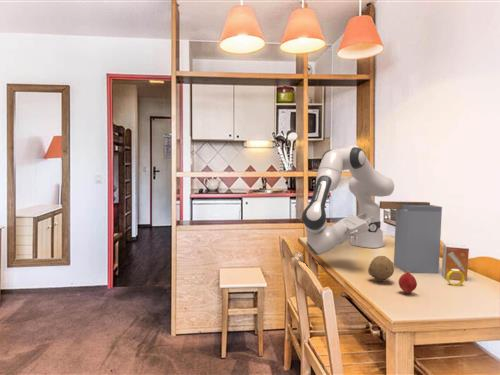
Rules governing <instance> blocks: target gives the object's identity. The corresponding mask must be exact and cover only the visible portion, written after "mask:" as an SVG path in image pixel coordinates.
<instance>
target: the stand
mask: <svg viewBox="0 0 500 375" xmlns="http://www.w3.org/2000/svg"><path fill="white" fill-rule="evenodd" d="M395 210H396V211H395V228H394V252H393V267H396V268H397V269H399V270H400V271H402V272H404V274H405V273H407V271H409V272H410V274H439V273H440V254H441V252H440V251H441V236H442V235H441V234H442V214H443V212H442V211H443V206H438V205H434V204H433V205H432V204H430V205H402V209H395Z"/></svg>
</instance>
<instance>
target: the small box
mask: <svg viewBox="0 0 500 375" xmlns="http://www.w3.org/2000/svg"><path fill="white" fill-rule="evenodd" d="M469 254H470V248H469V247H467V246H466V245H465V244H464V245H462V244H453V243H452V244H449V243H443V244H442V261H441V262H442V263H441V264H442V265H441V276H443V278H444V279H446V280H447V278H446V277H447V274H448V272H449V271H451V269H459V270H460V272H461V273H463V275H464V280H465V281H466V282H467V281H468V272H469V271H468V269H469V256H470V255H469ZM461 279H462V276H461V274H460V273H459V272H458V273H457V272H453V273H451V274H450V276H449V280H458V281H461Z"/></svg>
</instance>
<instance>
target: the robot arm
mask: <svg viewBox="0 0 500 375" xmlns="http://www.w3.org/2000/svg"><path fill="white" fill-rule="evenodd" d="M347 170H349V172H350V174H351V175H352V178H350V180H349V182H348V190H349V191H350V193H352V194H353V195H354V197H355V199H356V201H357V203H358V204H357V205H358V211H359V213H358V215H356V216H355V215H353V214H352V215H351V214H350V215H348V216H346V217H344V218H341V219H340V220H336V221H334V222H333V224H332V225H328V224H327V223H328V222H327V213H326V203H327V200H328V196H329V193H330V192H331V191H334V190H336V189H337V188H338V186H339V183H340V181H341V177H342V172H343V171H347ZM394 191H395V184H394V181H393V180H392V179H391V178H389V177H388V176H385V175H384V174H382V173H380V172H379V171H378V170H377V169H375V168H374V167H373V165H372V164H371V162H370V161H369V158H368V157H367V155H366V153H365V151H364V150H363V149H362V148H360V147H359V146H358V145H355V144H351V145H348V146H346V147H342V148H341V147H339V148H335V149H327V150H326V151H325V152H324V153H323V154H322V156H321V161H320V164H319V166H318V170H317V174H316V178H315V187H314V191H313V194H312V196H311V199H310V201H309V204H308V205H307V206H306V207H305V209H304V210H303V211H302V215H301V220H302V223H303V224H304V226H305V230H306V231H305V232H306V245H307V247H308V249H309V250H310V251H311V252H312V253H313V254H314V255H318V256H319V255H323V254H325V253H327V252H329V251H331V250H333V249H335V247H337V246H338V245H342V244H344V243H345V242H347V241H349V243H350V245H352V246H353V247H355V246H356V247H361V248H369V249H370V248H371V249H372V248H373V249H374V248H375V249H379V248H382V247H385V246H386V244H385V243H384V238H383V237H384V236H383V235H384V233H383V232H384V231H383V230H382V229H381V225H382V224H381V208H379V206H380V204H378V203H376V202H375V201H374V200H373V198H372V197H381V198H383V197H389V196H391V195H392V194H393V192H394ZM352 237H353V238H352Z"/></svg>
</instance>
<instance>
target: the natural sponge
mask: <svg viewBox="0 0 500 375" xmlns="http://www.w3.org/2000/svg"><path fill="white" fill-rule="evenodd" d="M367 270H368V275H369V276H371V277H373V278H374V279H375V280H376V281H378V282H384V281H386V280H388V279H389V278H391V277H392V276H393V275H394V272H395V266H394V262H393V261H391V259H390V257H389V258H388V257H387V256H385V255H378V256H375V257H373V259H372V260H371V262H370V263H369V266H368V268H367Z"/></svg>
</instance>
